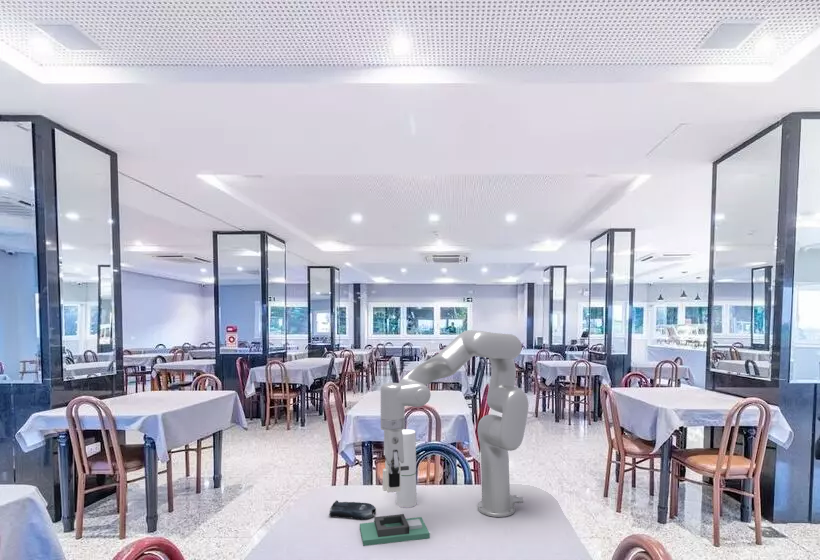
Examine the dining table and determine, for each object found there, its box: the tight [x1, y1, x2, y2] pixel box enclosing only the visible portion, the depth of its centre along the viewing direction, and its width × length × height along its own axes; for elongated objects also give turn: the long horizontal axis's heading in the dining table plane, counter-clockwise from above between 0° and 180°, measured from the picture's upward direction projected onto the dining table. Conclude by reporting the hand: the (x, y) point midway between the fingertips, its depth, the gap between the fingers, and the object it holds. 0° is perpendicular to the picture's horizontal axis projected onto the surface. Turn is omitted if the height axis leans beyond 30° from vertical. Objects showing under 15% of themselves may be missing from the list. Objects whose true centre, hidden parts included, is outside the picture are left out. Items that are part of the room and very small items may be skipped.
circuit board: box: [359, 513, 431, 547], centre depth 139 cm, size 20×11×4 cm, turn 102°
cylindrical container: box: [395, 428, 417, 509], centre depth 161 cm, size 7×7×25 cm
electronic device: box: [328, 499, 377, 521], centre depth 153 cm, size 9×6×15 cm
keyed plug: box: [382, 459, 409, 494], centre depth 140 cm, size 8×5×8 cm, turn 102°
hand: (392, 482), depth 140 cm, fingers closed on keyed plug, 4 cm apart
